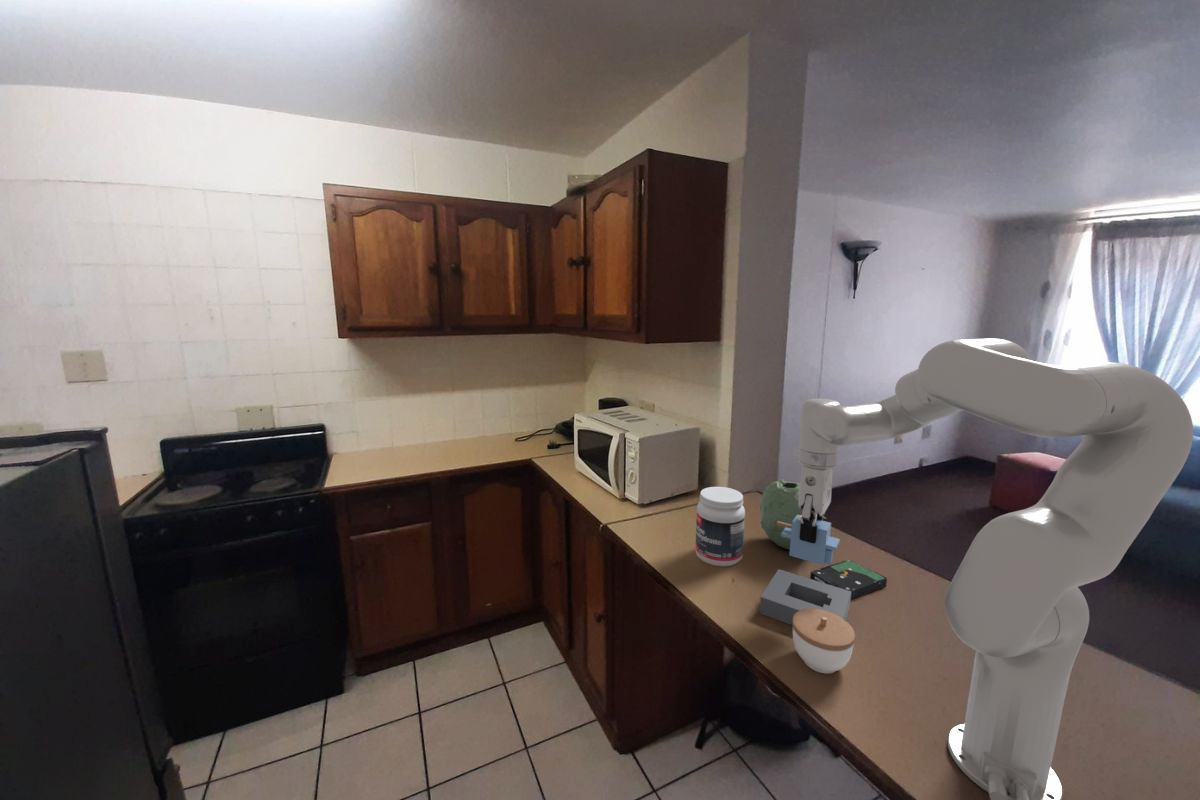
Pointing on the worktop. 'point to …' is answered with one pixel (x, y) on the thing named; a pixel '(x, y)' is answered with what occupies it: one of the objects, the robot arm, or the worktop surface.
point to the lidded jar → (822, 639)
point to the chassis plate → (801, 597)
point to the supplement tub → (720, 526)
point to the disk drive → (850, 577)
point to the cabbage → (780, 509)
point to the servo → (809, 551)
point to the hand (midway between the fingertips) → (810, 535)
